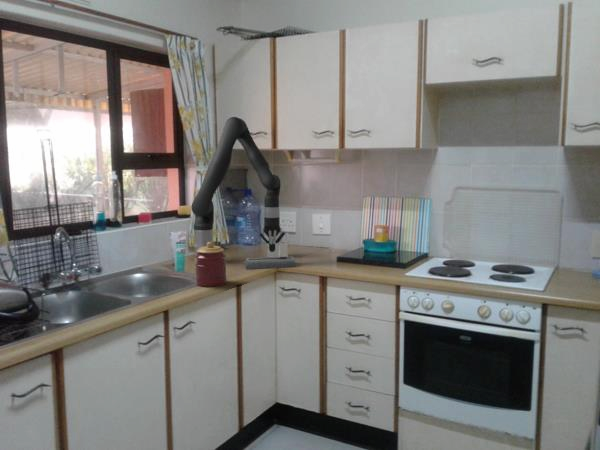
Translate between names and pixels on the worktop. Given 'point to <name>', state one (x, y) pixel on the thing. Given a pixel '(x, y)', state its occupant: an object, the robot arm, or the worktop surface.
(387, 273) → the worktop surface
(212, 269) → the canister
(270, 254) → the milk carton
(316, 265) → the worktop surface
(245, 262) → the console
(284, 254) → the fader tab
